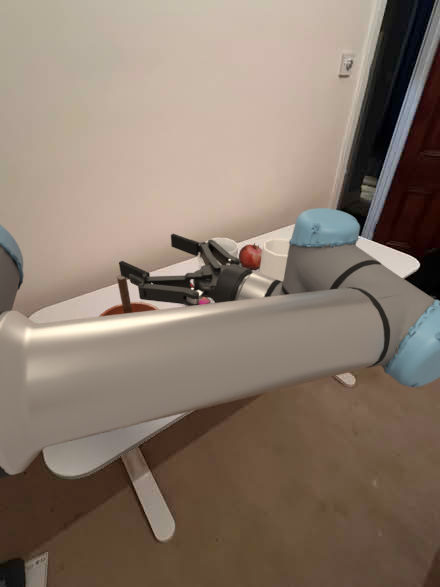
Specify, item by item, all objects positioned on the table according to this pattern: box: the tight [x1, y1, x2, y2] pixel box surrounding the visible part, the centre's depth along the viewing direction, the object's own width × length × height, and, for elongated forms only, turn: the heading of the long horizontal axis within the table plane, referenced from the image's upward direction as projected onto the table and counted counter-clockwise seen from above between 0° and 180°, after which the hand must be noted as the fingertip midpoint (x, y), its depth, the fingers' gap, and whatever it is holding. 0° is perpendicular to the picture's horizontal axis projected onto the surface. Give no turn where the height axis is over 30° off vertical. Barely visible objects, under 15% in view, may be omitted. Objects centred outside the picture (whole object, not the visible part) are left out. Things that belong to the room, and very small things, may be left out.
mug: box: [197, 237, 239, 267], centre depth 102 cm, size 15×11×13 cm
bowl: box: [98, 301, 161, 317], centre depth 78 cm, size 18×18×6 cm
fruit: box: [238, 242, 263, 270], centre depth 110 cm, size 9×10×10 cm
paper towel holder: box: [116, 274, 132, 314], centre depth 74 cm, size 6×6×20 cm
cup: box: [258, 237, 290, 282], centre depth 93 cm, size 11×11×18 cm
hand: (148, 252), depth 58 cm, fingers open, 13 cm apart
